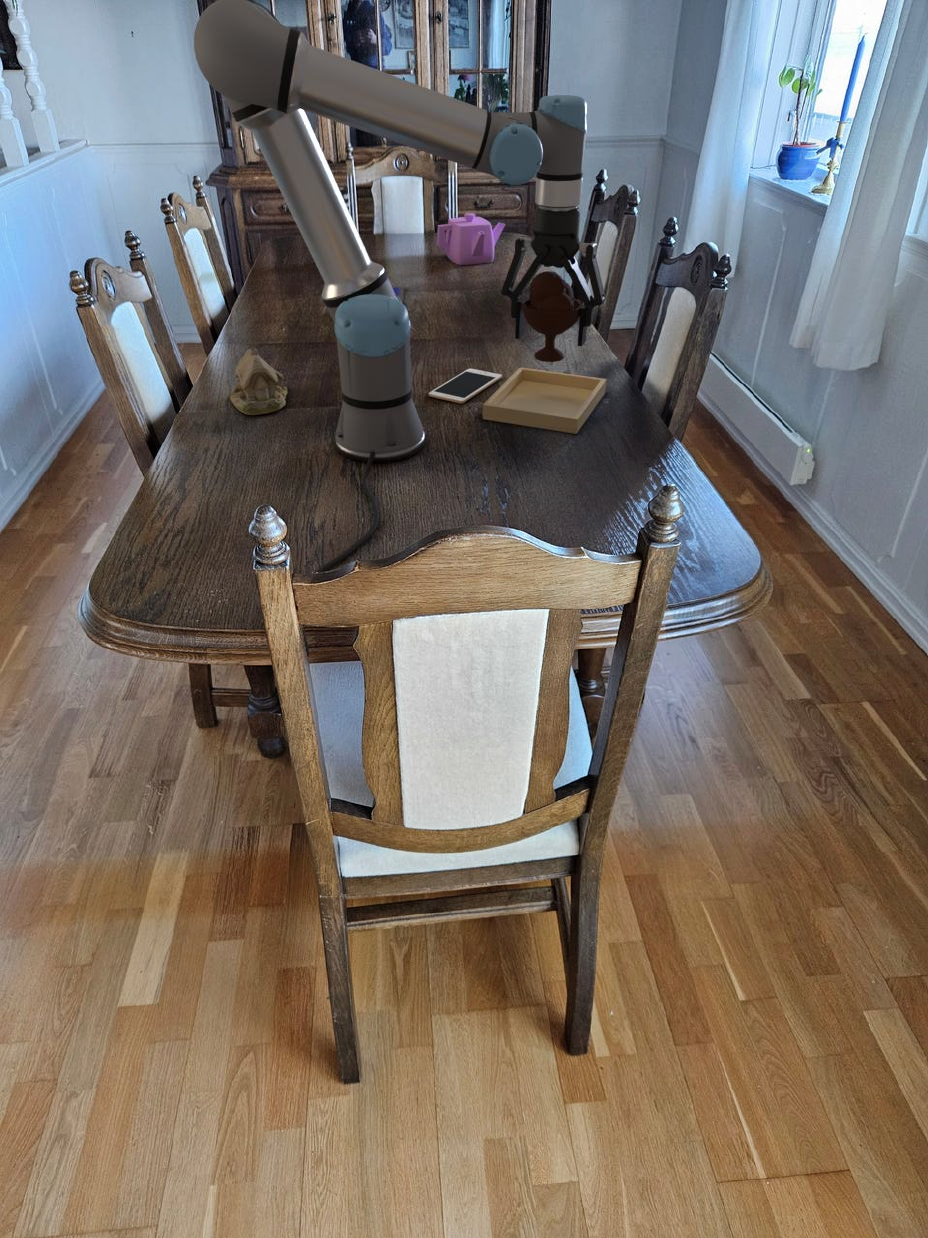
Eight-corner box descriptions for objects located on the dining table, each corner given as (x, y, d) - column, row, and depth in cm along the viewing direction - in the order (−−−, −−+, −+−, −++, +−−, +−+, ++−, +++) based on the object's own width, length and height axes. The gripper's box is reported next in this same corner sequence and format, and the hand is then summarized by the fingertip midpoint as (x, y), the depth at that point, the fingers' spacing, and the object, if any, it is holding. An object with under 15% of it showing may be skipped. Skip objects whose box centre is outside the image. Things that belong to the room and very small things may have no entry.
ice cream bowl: (577, 368, 146) (583, 279, 137) (514, 364, 148) (517, 276, 139) (582, 349, 154) (589, 264, 145) (523, 345, 156) (526, 261, 147)
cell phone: (502, 377, 168) (502, 374, 167) (462, 404, 157) (462, 400, 156) (469, 370, 171) (469, 367, 171) (427, 396, 160) (427, 393, 160)
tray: (576, 434, 146) (577, 419, 144) (482, 419, 151) (482, 404, 150) (605, 392, 162) (606, 378, 160) (519, 380, 167) (519, 367, 165)
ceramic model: (226, 392, 162) (217, 341, 156) (283, 384, 165) (276, 334, 159) (237, 419, 152) (227, 365, 146) (297, 410, 155) (290, 357, 149)
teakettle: (457, 249, 257) (456, 206, 249) (507, 255, 250) (508, 210, 243) (431, 262, 244) (430, 216, 237) (482, 268, 238) (483, 221, 231)
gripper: (633, 206, 135) (618, 341, 148) (498, 197, 142) (496, 326, 155) (622, 215, 130) (608, 354, 143) (483, 205, 137) (482, 338, 150)
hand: (550, 340), depth 149 cm, fingers closed on ice cream bowl, 11 cm apart
